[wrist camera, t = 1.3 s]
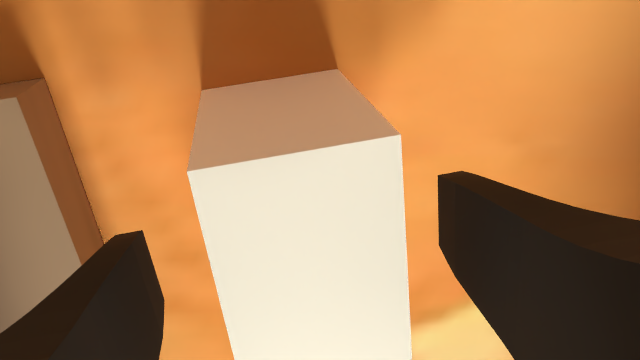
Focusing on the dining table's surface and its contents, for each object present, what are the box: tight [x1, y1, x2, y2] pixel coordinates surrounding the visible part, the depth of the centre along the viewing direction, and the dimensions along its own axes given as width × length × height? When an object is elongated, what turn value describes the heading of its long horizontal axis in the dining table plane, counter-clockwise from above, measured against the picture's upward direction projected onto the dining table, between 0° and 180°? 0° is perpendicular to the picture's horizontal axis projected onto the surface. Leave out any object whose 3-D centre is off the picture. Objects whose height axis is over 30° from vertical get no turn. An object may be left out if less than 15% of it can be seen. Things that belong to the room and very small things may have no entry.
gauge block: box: [187, 69, 412, 360], centre depth 13 cm, size 4×6×6 cm, turn 7°
